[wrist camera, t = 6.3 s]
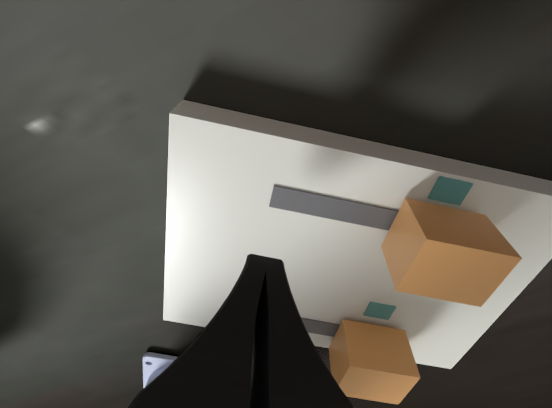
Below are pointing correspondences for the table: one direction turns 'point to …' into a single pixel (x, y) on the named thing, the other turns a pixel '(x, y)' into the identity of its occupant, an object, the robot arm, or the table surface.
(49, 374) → the table surface
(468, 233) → the orange small block
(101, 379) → the table surface
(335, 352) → the tan wooden block
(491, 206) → the switch panel
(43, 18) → the table surface
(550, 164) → the table surface
